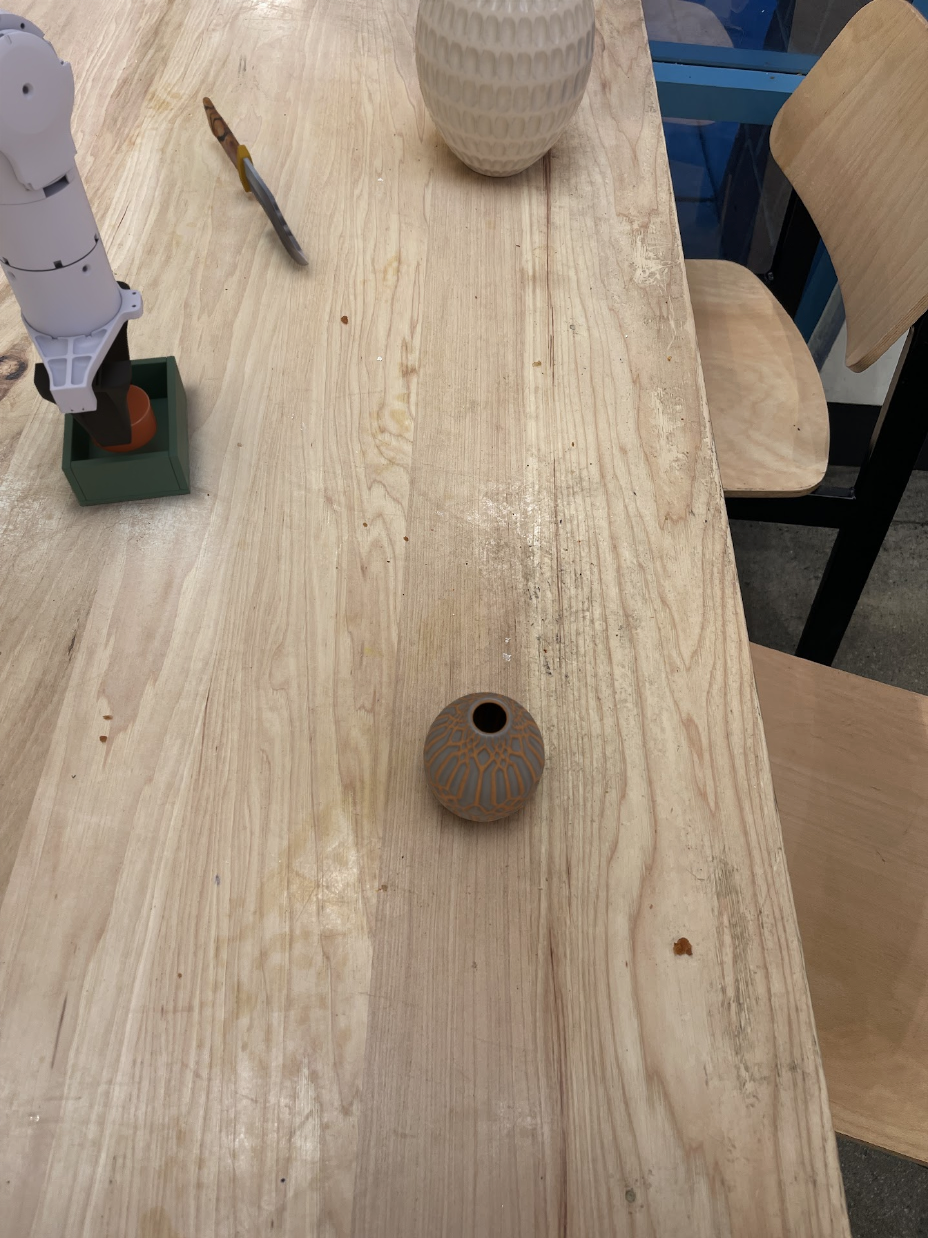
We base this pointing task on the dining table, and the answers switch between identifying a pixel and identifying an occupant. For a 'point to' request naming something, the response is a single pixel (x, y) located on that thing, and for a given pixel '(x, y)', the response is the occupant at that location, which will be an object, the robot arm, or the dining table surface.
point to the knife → (252, 180)
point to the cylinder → (137, 421)
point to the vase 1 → (503, 75)
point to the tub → (142, 469)
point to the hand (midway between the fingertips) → (116, 415)
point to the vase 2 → (484, 756)
